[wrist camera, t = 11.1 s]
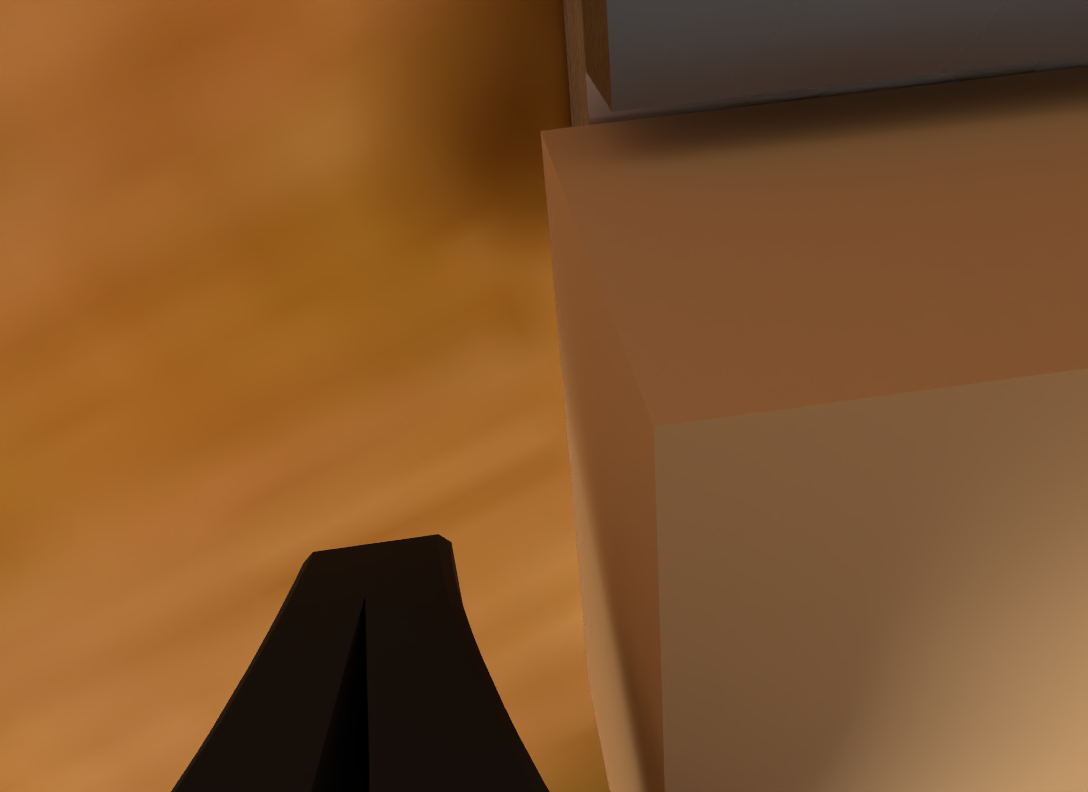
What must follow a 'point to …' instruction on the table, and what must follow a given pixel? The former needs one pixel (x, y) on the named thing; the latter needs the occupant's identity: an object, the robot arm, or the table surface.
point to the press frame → (800, 49)
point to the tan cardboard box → (832, 437)
